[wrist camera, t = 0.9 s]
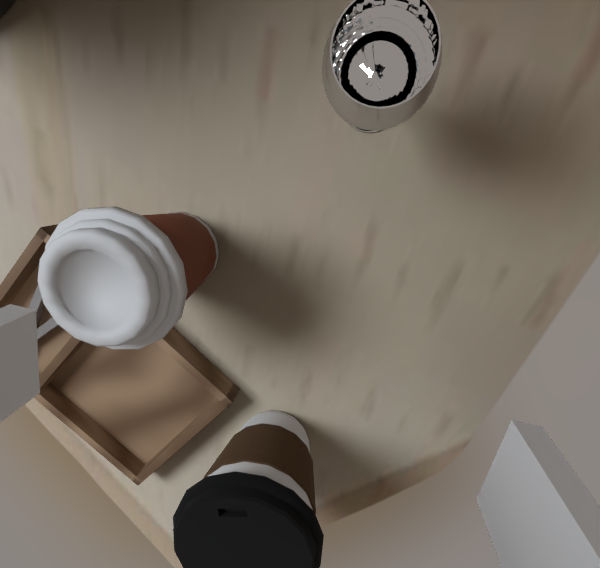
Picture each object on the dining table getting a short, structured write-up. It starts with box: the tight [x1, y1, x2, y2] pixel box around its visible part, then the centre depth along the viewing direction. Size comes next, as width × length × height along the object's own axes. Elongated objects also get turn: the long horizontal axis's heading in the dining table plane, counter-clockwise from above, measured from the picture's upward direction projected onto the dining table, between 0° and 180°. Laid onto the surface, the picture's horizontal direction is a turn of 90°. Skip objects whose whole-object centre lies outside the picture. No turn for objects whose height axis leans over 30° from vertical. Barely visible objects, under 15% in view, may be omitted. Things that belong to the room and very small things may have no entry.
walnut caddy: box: [0, 224, 239, 485], centre depth 36 cm, size 22×15×2 cm
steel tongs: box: [29, 285, 59, 341], centre depth 35 cm, size 11×5×1 cm, turn 135°
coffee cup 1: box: [38, 207, 219, 349], centre depth 27 cm, size 9×9×12 cm
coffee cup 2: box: [173, 410, 324, 568], centre depth 31 cm, size 11×11×12 cm
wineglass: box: [322, 0, 442, 133], centre depth 22 cm, size 6×6×12 cm
